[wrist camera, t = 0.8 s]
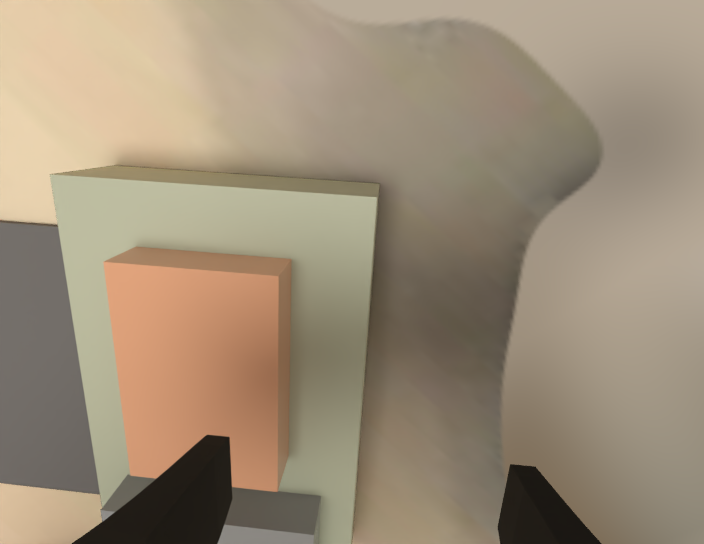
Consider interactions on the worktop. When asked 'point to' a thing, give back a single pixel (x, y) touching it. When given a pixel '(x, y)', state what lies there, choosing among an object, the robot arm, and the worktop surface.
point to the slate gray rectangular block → (248, 514)
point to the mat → (40, 367)
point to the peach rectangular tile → (203, 358)
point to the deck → (240, 239)
